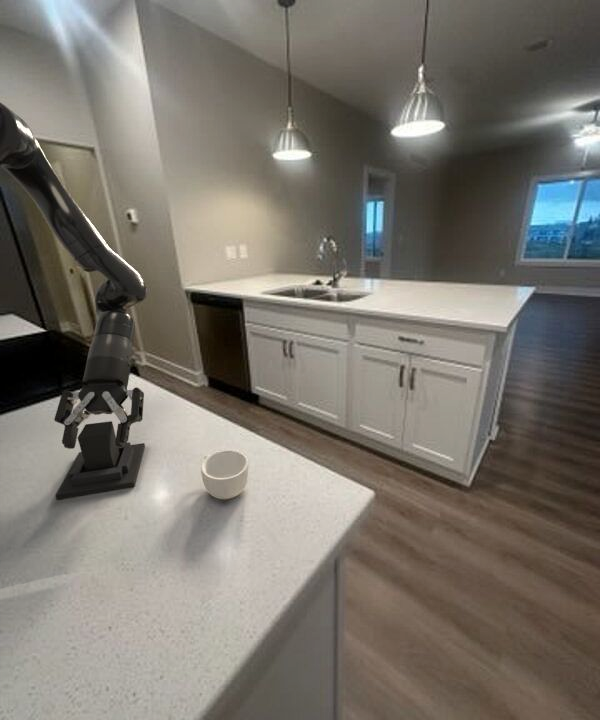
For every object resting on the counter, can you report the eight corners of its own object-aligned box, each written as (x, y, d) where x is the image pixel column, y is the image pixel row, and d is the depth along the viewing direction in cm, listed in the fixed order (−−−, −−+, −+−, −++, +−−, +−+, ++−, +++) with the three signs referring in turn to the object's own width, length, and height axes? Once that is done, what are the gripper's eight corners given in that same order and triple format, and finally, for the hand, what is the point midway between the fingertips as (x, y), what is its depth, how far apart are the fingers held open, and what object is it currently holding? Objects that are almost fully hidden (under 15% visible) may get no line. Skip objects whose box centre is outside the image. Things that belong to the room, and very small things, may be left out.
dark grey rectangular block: (88, 475, 61) (77, 437, 58) (95, 460, 65) (85, 424, 62) (115, 471, 62) (105, 434, 59) (120, 456, 66) (112, 420, 63)
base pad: (56, 500, 57) (52, 488, 56) (80, 456, 68) (77, 445, 67) (134, 486, 60) (132, 475, 59) (145, 446, 71) (143, 436, 70)
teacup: (259, 488, 59) (257, 462, 57) (222, 514, 54) (219, 487, 52) (224, 463, 65) (221, 439, 64) (188, 484, 60) (184, 459, 58)
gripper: (59, 355, 63) (38, 445, 56) (140, 353, 64) (128, 440, 57) (81, 370, 70) (64, 452, 63) (153, 368, 71) (144, 448, 64)
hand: (94, 446), depth 60 cm, fingers open, 8 cm apart
